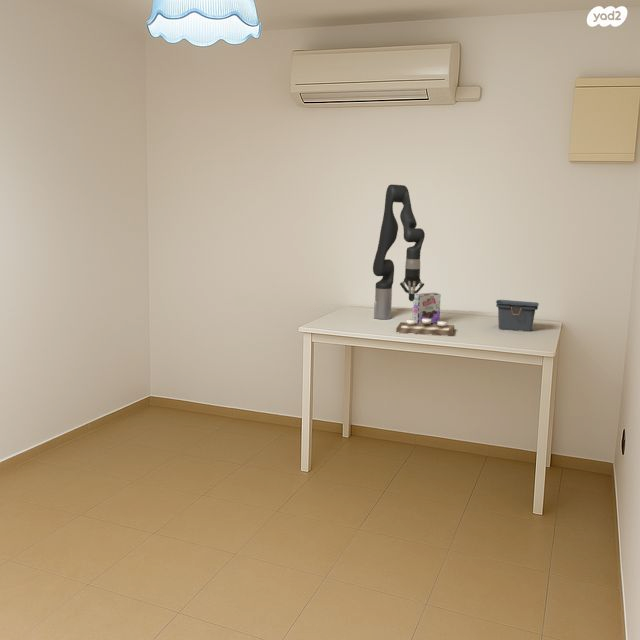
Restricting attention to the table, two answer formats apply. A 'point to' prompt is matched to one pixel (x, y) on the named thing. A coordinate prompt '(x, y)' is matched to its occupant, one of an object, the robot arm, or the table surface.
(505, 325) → the storage bin
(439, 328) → the button board
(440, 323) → the right button
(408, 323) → the left button
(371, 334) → the table surface
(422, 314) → the candy box
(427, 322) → the middle button
